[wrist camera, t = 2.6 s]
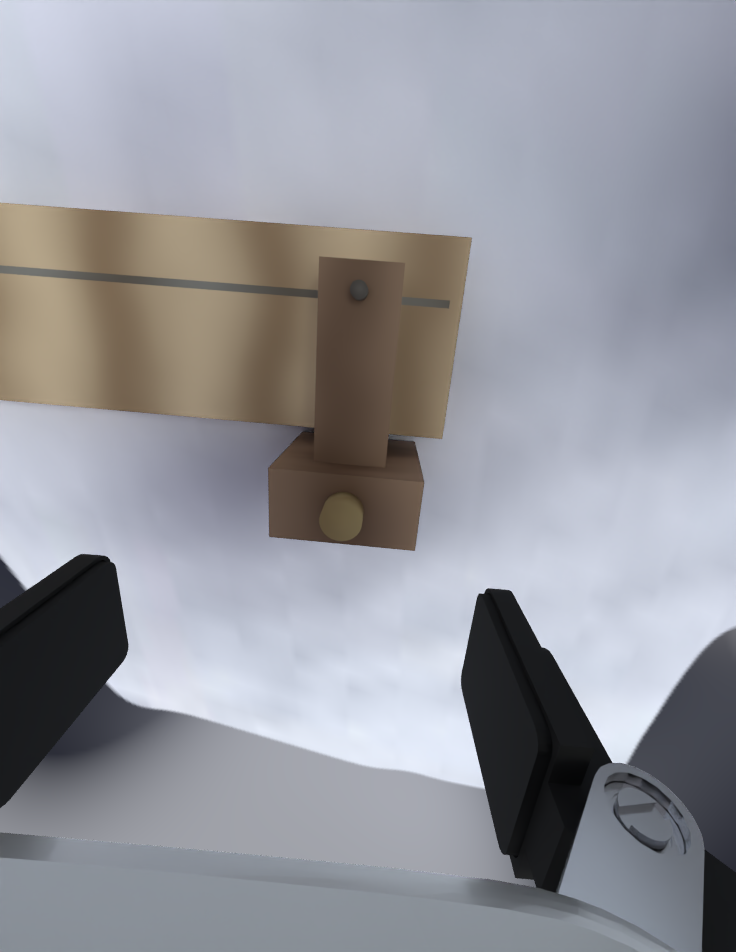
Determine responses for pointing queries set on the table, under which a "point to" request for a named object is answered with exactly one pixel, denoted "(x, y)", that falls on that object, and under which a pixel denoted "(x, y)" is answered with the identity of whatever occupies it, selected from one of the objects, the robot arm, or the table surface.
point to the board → (207, 314)
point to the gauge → (351, 422)
